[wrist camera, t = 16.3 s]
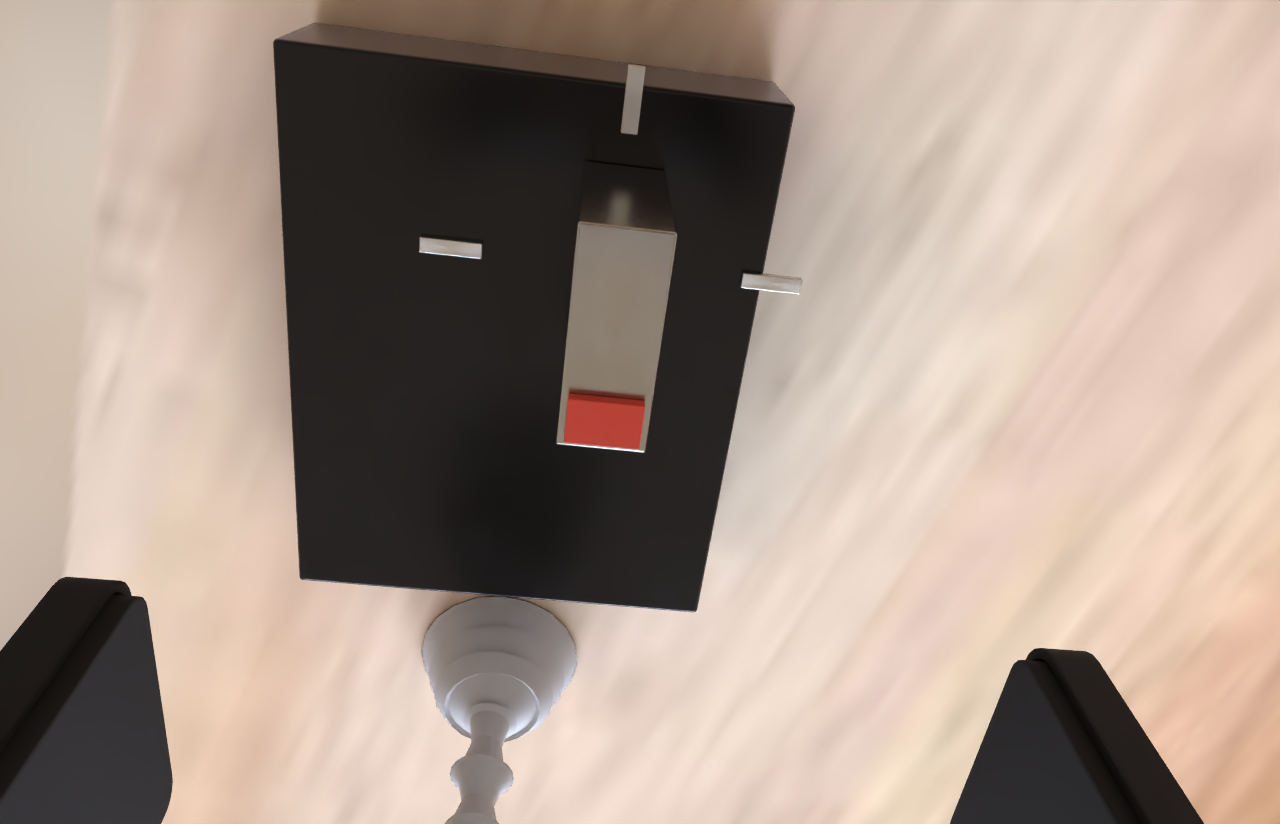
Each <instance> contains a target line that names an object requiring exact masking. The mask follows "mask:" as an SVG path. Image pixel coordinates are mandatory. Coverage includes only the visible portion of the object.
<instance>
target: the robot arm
mask: <svg viewBox="0 0 1280 824" xmlns="http://www.w3.org/2000/svg"><path fill="white" fill-rule="evenodd" d="M172 783H173V781H172V771H171V764H170V757H169V750H168V743H167V737H166V730H165V723H164V716H163V710H162V703H161V696H160V689H159V682H158V676H157V669H156V662H155V655H154V649H153V642H152V635H151V628H150V621H149V615H148V608H147V604H146V601H145V600H144V598H143V597H138V596H131V592H130V589H129V587H128V585H127V584H126V583H125V582H122V581H115V580H102V579H88V578H74V577H64V578H62V579H59V580H58V581H57V582H56V583H55V584H54V585H53V586H52V587H51V588H50V590H49V591H48V592H47V593H46V595H45V596H44V597H43V598H42V600H41V601H40V602H39V603H38V605H37V606H36V607H35V608H34V610H33V611H32V612H31V613H30V615H29V616H28V617H27V618H26V620H25V621H24V622H23V623H22V625H21V626H20V627H19V628H18V630H17V631H16V632H15V633H14V635H13V636H12V637H11V639H10V640H9V641H8V642H7V643H6V645H5V646H4V647H3V649H2V650H1V651H0V824H161V823H162V820H163V818H164V816H165V814H166V811H167V809H168V805H169V802H170V798H171V792H172ZM950 824H1204V823H1203V821H1202V820H1201V818H1200V817H1199V815H1198V814H1197V812H1196V810H1195V809H1194V807H1193V806H1192V804H1191V803H1190V801H1189V800H1188V798H1187V797H1186V795H1185V794H1184V792H1183V790H1182V789H1181V787H1180V786H1179V784H1178V783H1177V781H1176V780H1175V778H1174V777H1173V775H1172V774H1171V772H1170V770H1169V769H1168V767H1167V766H1166V764H1165V763H1164V761H1163V760H1162V758H1161V757H1160V755H1159V754H1158V752H1157V750H1156V749H1155V747H1154V746H1153V744H1152V743H1151V741H1150V740H1149V738H1148V737H1147V735H1146V734H1145V732H1144V730H1143V729H1142V727H1141V726H1140V724H1139V723H1138V721H1137V720H1136V718H1135V717H1134V715H1133V714H1132V712H1131V710H1130V709H1129V707H1128V706H1127V704H1126V703H1125V701H1124V700H1123V698H1122V697H1121V695H1120V694H1119V692H1118V690H1117V689H1116V687H1115V686H1114V684H1113V683H1112V681H1111V680H1110V678H1109V677H1108V675H1107V674H1106V672H1105V670H1104V669H1103V667H1102V666H1101V664H1100V663H1099V661H1098V660H1097V659H1096V658H1095V657H1094V656H1093V655H1092V654H1090V653H1088V652H1086V651H1073V650H1059V649H1045V648H1038V649H1034V650H1033V651H1031V652H1030V653H1029V655H1028V657H1027V658H1026V660H1018V661H1017V662H1016V663H1014V665H1013V667H1012V669H1011V671H1010V673H1009V676H1008V678H1007V681H1006V683H1005V686H1004V688H1003V691H1002V693H1001V696H1000V698H999V701H998V703H997V706H996V708H995V711H994V713H993V716H992V718H991V721H990V723H989V726H988V729H987V731H986V734H985V736H984V739H983V741H982V744H981V746H980V749H979V751H978V754H977V756H976V759H975V761H974V764H973V766H972V769H971V771H970V774H969V776H968V779H967V781H966V784H965V786H964V789H963V791H962V794H961V796H960V799H959V801H958V804H957V806H956V809H955V811H954V814H953V816H952V819H951V822H950Z"/></svg>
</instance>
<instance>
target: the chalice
mask: <svg viewBox="0 0 1280 824" xmlns="http://www.w3.org/2000/svg"><path fill="white" fill-rule="evenodd" d="M422 656H423V661H424V666H425V670H426V672H427V673H428V675H429V680H430V685H431V689H432V691H433V692H434V696H435V701H436V706H437V708H438V709H439V711H440V712H441V714H442V715H443V717H444V718H445V720H446V721H447V722H448V723H449V724H450V725H451V726H452V727H453V728H454V729H456V730H457V731H458V732H459V733H461V734H462V735H464V736H466V737H468V738H471V742H472V743H471V745H470V747H469V749H468V751H467V754H466V756H464V757H462V758H461V759H459V760H457V761H456V762H455V763H454V765H453V766H452V767H451V772H450V776H451V780H452V782H453V783H454V785H455V786H456V787H457V788H458V789H459V790H460V794H461V803H460V805H459V807H458V809H457V811H456V813H455V814H454V815H453V816H452V817H450V818H449V819H448V820H447V821H446V823H445V824H499V823H498V822H497V820H496V816H495V810H494V805H495V803H496V801H497V799H498V797H499V795H501V794H503V793H505V792H506V791H508V789H509V788H510V787H511V786H512V783H513V779H514V778H513V773H512V771H511V769H510V768H509V766H508V765H507V764H506V763H504V762H503V755H502V746H503V743H504V742H506V741H510V740H513V739H516V738H519V737H521V736H523V735H525V734H527V733H528V732H530V731H531V730H533V729H535V728H536V727H538V726H540V725H541V723H542V722H543V721H544V720H545V719H546V717H547V716H548V715H549V713H550V710H551V708H552V707H553V706H554V704H555V703H556V702H557V701H558V700H559V698H560V695H561V693H562V692H563V690H564V689H565V688H566V687H567V685H568V684H569V683H570V682H571V681H572V677H573V674H574V671H575V668H576V665H577V658H576V648H575V643H574V642H573V640H572V638H571V636H570V634H569V632H568V630H567V629H566V627H565V626H564V625H563V624H562V623H561V622H560V621H558V620H557V619H556V618H555V617H554V616H553V615H552V614H551V613H550V612H548V611H546V610H544V609H542V608H540V607H538V606H536V605H534V604H532V603H530V602H527V601H522V600H517V599H512V598H508V597H483V598H476V599H472V600H469V601H466V602H463V603H460V604H457V605H454V606H453V607H451V608H450V609H449V610H447V611H446V612H444V613H443V614H441V615H440V616H438V617H437V618H436V620H435V621H434V622H433V624H432V625H431V627H430V628H429V629H428V631H427V632H426V634H425V638H424V643H423V647H422Z"/></svg>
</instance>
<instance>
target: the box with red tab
mask: <svg viewBox="0 0 1280 824" xmlns="http://www.w3.org/2000/svg"><path fill="white" fill-rule="evenodd" d="M676 241H677V231H676V226H675V221H674V216H673V210H672V205H671V200H670V195H669V189H668V184H667V179H666V174H665V171H663V170H654V169H646V168H638V167H629V166H621V165H613V164H605V163H596V162H588V161H586V162H584V167H583V176H582V185H581V194H580V204H579V213H578V222H577V232H576V243H575V253H574V263H573V273H572V283H571V294H570V304H569V314H568V324H567V334H566V345H565V355H564V365H563V375H562V385H561V396H560V406H559V416H558V426H557V436H556V442H557V444H561V445H572V446H582V447H593V448H603V449H614V450H624V451H634V452H644V451H645V449H646V442H647V436H648V429H649V422H650V415H651V409H652V402H653V395H654V389H655V382H656V375H657V368H658V362H659V355H660V348H661V342H662V335H663V328H664V321H665V315H666V308H667V301H668V295H669V288H670V281H671V274H672V268H673V261H674V254H675V248H676Z"/></svg>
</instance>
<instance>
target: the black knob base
mask: <svg viewBox="0 0 1280 824" xmlns="http://www.w3.org/2000/svg"><path fill="white" fill-rule="evenodd" d="M273 48H274V68H275V88H276V108H277V129H278V149H279V169H280V189H281V209H282V230H283V250H284V270H285V290H286V310H287V331H288V351H289V371H290V391H291V411H292V432H293V452H294V472H295V492H296V512H297V533H298V553H299V573H300V579H302V580H311V581H323V582H335V583H347V584H359V585H371V586H383V587H396V588H408V589H420V590H432V591H444V592H456V593H468V594H480V595H492V596H504V597H516V598H528V599H540V600H553V601H565V602H577V603H589V604H601V605H613V606H625V607H637V608H649V609H661V610H673V611H685V612H696V610H697V607H698V602H699V597H700V592H701V587H702V582H703V577H704V572H705V566H706V561H707V556H708V551H709V546H710V541H711V536H712V531H713V526H714V520H715V515H716V510H717V505H718V500H719V495H720V490H721V485H722V480H723V474H724V469H725V464H726V459H727V454H728V449H729V444H730V439H731V433H732V428H733V423H734V418H735V413H736V408H737V403H738V398H739V393H740V387H741V382H742V377H743V372H744V367H745V362H746V357H747V352H748V347H749V341H750V336H751V331H752V326H753V321H754V316H755V311H756V306H757V301H758V295H759V290H766V291H775V292H784V293H793V294H799V293H800V289H801V284H802V279H801V278H798V277H789V276H780V275H771V274H763V270H764V265H765V260H766V255H767V249H768V244H769V239H770V234H771V229H772V224H773V219H774V214H775V209H776V203H777V198H778V193H779V188H780V183H781V178H782V173H783V168H784V163H785V157H786V152H787V147H788V142H789V137H790V132H791V127H792V122H793V117H794V111H795V106H794V105H793V103H792V102H791V101H790V100H789V99H788V98H787V97H786V95H785V94H784V93H783V92H782V91H781V90H780V88H779V87H778V86H777V85H776V84H775V83H774V82H771V81H763V80H755V79H748V78H740V77H732V76H724V75H717V74H709V73H701V72H693V71H686V70H678V69H670V68H662V67H655V66H647V65H639V64H631V63H623V62H616V61H608V60H600V59H592V58H585V57H577V56H569V55H561V54H554V53H546V52H538V51H530V50H523V49H515V48H507V47H499V46H492V45H484V44H476V43H468V42H461V41H453V40H445V39H437V38H429V37H422V36H414V35H406V34H398V33H391V32H383V31H375V30H367V29H360V28H352V27H344V26H336V25H329V24H321V23H312V24H310V25H308V26H305V27H303V28H300V29H298V30H296V31H293V32H291V33H289V34H286V35H284V36H282V37H279V38H277V39H275V40H274V42H273ZM586 161H588V162H596V163H605V164H613V165H621V166H629V167H638V168H646V169H654V170H663V171H665V174H666V179H667V184H668V189H669V195H670V200H671V205H672V210H673V216H674V221H675V226H676V231H677V241H676V248H675V254H674V261H673V268H672V274H671V281H670V288H669V295H668V301H667V308H666V315H665V321H664V328H663V335H662V342H661V348H660V355H659V362H658V368H657V375H656V382H655V389H654V395H653V402H652V409H651V415H650V422H649V429H648V436H647V442H646V449H645V451H644V452H634V451H624V450H614V449H603V448H593V447H582V446H572V445H561V444H557V442H556V436H557V426H558V416H559V406H560V396H561V385H562V375H563V365H564V355H565V345H566V334H567V324H568V314H569V304H570V294H571V283H572V273H573V263H574V253H575V243H576V232H577V222H578V213H579V204H580V194H581V185H582V176H583V167H584V162H586Z"/></svg>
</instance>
